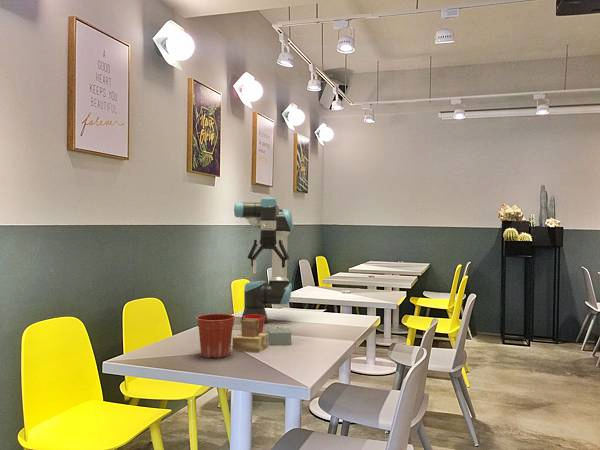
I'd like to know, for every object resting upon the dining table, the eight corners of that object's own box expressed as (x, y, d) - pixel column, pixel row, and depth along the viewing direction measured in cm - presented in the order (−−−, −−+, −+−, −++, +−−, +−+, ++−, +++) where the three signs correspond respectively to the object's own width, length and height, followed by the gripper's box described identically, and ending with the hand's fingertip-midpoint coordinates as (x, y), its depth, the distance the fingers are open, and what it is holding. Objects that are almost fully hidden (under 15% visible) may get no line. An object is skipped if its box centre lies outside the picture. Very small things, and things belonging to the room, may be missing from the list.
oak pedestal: (242, 345, 233) (242, 332, 233) (267, 346, 230) (267, 333, 230) (232, 351, 221) (232, 337, 221) (258, 353, 218) (258, 339, 218)
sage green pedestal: (268, 341, 241) (268, 328, 241) (289, 340, 242) (289, 328, 242) (269, 345, 231) (269, 332, 231) (291, 345, 232) (291, 332, 232)
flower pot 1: (200, 349, 222) (201, 313, 222) (237, 350, 222) (238, 313, 222) (191, 359, 206) (191, 320, 206) (231, 360, 205) (231, 320, 205)
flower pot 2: (261, 338, 245) (261, 318, 245) (240, 337, 248) (240, 317, 248) (267, 333, 256) (267, 314, 256) (246, 332, 258) (246, 313, 258)
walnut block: (246, 333, 229) (246, 318, 229) (258, 334, 228) (259, 319, 228) (241, 336, 224) (241, 320, 224) (254, 337, 222) (254, 321, 222)
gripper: (241, 229, 241) (240, 273, 241) (291, 230, 234) (290, 275, 234) (247, 229, 248) (246, 272, 248) (295, 229, 242) (295, 274, 242)
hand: (268, 274), depth 241 cm, fingers open, 13 cm apart
